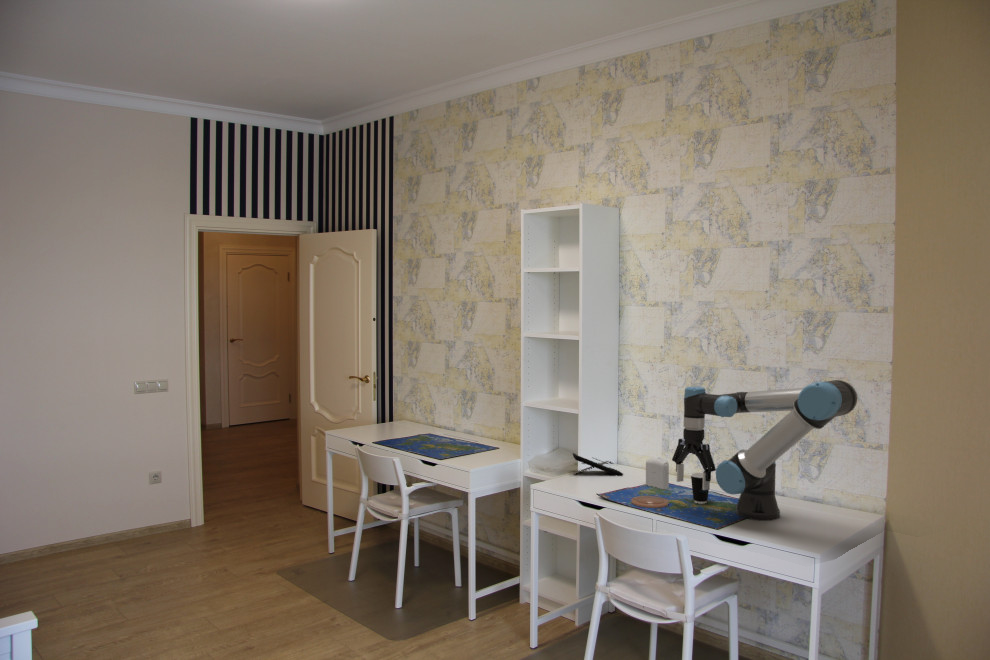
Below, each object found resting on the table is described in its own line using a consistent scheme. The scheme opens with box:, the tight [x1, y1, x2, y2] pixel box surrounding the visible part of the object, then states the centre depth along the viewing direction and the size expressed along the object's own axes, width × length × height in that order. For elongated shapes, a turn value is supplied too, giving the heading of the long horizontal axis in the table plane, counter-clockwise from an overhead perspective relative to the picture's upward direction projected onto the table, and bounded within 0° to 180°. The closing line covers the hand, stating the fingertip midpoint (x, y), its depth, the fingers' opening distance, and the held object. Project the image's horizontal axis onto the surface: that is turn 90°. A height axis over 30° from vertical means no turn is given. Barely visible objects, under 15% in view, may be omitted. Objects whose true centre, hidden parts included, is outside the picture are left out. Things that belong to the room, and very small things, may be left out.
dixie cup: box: [690, 472, 710, 505], centre depth 281 cm, size 8×8×11 cm
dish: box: [630, 495, 670, 509], centre depth 280 cm, size 14×14×1 cm
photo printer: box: [645, 457, 670, 490], centre depth 305 cm, size 10×4×12 cm, turn 39°
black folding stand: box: [572, 453, 624, 477], centre depth 329 cm, size 22×10×10 cm, turn 92°
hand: (692, 485), depth 271 cm, fingers open, 13 cm apart
